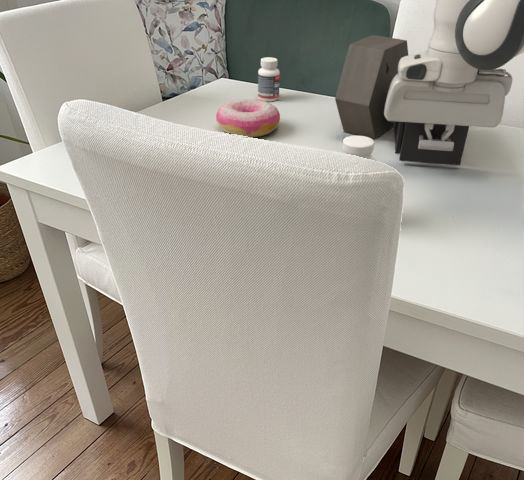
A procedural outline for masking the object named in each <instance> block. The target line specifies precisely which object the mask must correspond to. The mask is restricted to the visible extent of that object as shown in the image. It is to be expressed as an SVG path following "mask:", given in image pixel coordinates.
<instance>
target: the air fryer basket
mask: <svg viewBox="0 0 524 480" xmlns="http://www.w3.org/2000/svg"><path fill="white" fill-rule="evenodd" d="M424 124H425V123H413V122H404V128H403V134H402V145H401V151H400V153H399V158H398V159H399V161H400V162H411V163H412V162H413V163H423V164H437V165H451V166H461V163H462V159H463V155H464V151H465V147H466V141H467V139H468V134H469V130H470V126H459V125H455V127H454V131H453V132H452V134H451V135H450V136H449V137H448V138H447V139H446V140H445V141H434V140H428V137H427V134H426V131H425V128H424ZM445 130H446V128H445V125H444V124H434V125H433V129H432V130H430V131H431V134H432V136H441V135H442V134H443V133H444V131H445Z"/></svg>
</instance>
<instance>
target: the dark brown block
mask: <svg viewBox="0 0 524 480" xmlns="http://www.w3.org/2000/svg"><path fill="white" fill-rule="evenodd" d="M408 55H409V46H408V40H407V39H401V38H395V37H388V36H383V35H375V34H372V35H369V36H366V37H364V38H362V39H359V40H357V41H353V42H351V43H350V44H348V48H347V52H346V56H345V60H344V63H343V66H342V71H341V74H340V77H339V78H340V79H339V83H338V85H337V90H336V93H335V97H334V100H335V104H336V109H337V112H338V116H339V120H340V124H341V128H342V131H343V133H348V134H352V135H354V136H365V137H369V138H371V139H372V140H377V139H379V138H380V137H381V136H383V135H384V134H386V133H387V132H388V131H390V130H392V129H393V128H395V123H396V121H388V120H387V119H386V118H385V116H384V109H385V103H386V98H387V94H388V91H389V87H390V84H391V82H392V80H393V78H394V77H395V75H397V74H398V64H399V61H400V59H401V58H402V57H405V56H408Z"/></svg>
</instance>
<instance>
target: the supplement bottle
mask: <svg viewBox="0 0 524 480" xmlns="http://www.w3.org/2000/svg"><path fill="white" fill-rule="evenodd" d="M341 145H342V146H341V149H342V151H343V152H342V153H346V154H351V155H356V156H359V157H363V158H367V159H371V160H375V161H377V159H376V157H375V156H374V155H372V154H373V152H374V148H375V140H374V139H372V138H369V137H365V136H359V135H349V136H346V137H344V138H343V140H342V144H341ZM377 162H378V161H377Z"/></svg>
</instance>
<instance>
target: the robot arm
mask: <svg viewBox="0 0 524 480" xmlns="http://www.w3.org/2000/svg"><path fill="white" fill-rule="evenodd" d="M523 53H524V0H436V1H435V6H434V10H433V31H432V34H431V36H430V39H429V41H428V45H427V49H426V50H423V51H420V52H416V53H412V54H408V56H405V57H402V58H401V59H400V61H399V64H398V74H397V75H395V77H394V78H393V80H392V82H391V84H390V87H389V91H388V94H387V98H386V103H385V109H384V116H385V118H386V119H387V120H388V121H398V122H413V123H425V124H424V128H425V131H426V134H427V137H428V140H434V141H445V140H446V139H447V138H448V137H449V136H450V135H451V134H452V132H453V131H454V127H455V125H459V126H469V127H476V128H490V129H494V128H496V127H498V126H499V125H501V122H502V119H503V116H504V110H505V103H506V102H505V101H506V96H507V95H508V94H509V93H510V92H511V88H512V85H513V75H512V74H511V73H510V72H508V71H507V70H506V69H505V68H501V67H503V66H505V65H506V64H507V63H509V62H510V61H511V60H513V59H514V58H516V57H518V56H520V55H522V54H523ZM434 124H444V125H445V128H446V130H445V131H444V133H443V134H442V135H441V136H432V134H431V131H430V130H432V129H433V125H434Z"/></svg>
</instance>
